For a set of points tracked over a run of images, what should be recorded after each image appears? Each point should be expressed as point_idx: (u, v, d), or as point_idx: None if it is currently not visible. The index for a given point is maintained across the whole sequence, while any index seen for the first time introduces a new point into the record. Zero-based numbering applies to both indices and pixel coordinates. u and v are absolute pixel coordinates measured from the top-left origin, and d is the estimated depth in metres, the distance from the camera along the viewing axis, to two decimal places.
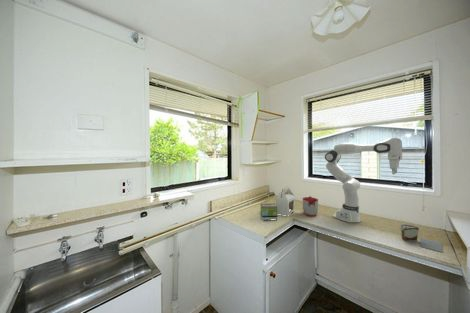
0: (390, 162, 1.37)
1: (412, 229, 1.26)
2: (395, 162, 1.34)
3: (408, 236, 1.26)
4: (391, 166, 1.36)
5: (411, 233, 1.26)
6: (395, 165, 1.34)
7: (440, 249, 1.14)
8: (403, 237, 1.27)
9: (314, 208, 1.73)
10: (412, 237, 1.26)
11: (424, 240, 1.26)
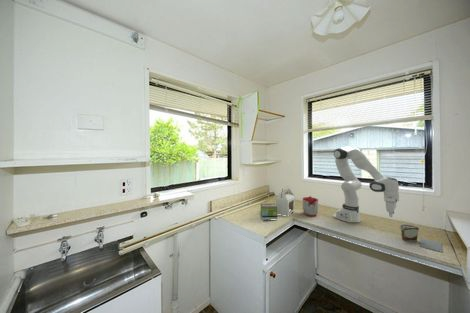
0: (386, 204, 1.30)
1: (412, 229, 1.26)
2: (392, 205, 1.28)
3: (408, 236, 1.26)
4: (388, 209, 1.29)
5: (411, 233, 1.26)
6: (392, 208, 1.28)
7: (440, 249, 1.14)
8: (403, 237, 1.27)
9: (314, 208, 1.73)
10: (412, 237, 1.26)
11: (424, 240, 1.26)
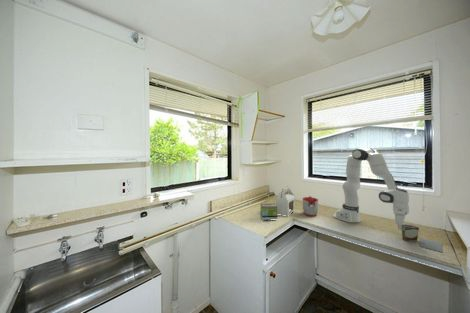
0: (396, 217, 1.26)
1: (413, 229, 1.26)
2: (401, 218, 1.24)
3: (409, 236, 1.26)
4: (397, 222, 1.26)
5: (412, 233, 1.26)
6: (401, 221, 1.24)
7: (440, 249, 1.14)
8: (404, 237, 1.27)
9: (314, 208, 1.73)
10: (413, 237, 1.26)
11: (424, 240, 1.26)
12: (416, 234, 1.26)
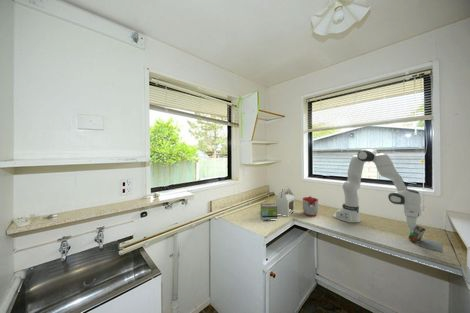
0: (408, 219, 1.21)
1: (422, 231, 1.23)
2: (414, 220, 1.19)
3: (418, 238, 1.23)
4: (409, 224, 1.21)
5: (420, 235, 1.24)
6: (414, 224, 1.19)
7: (440, 249, 1.14)
8: (414, 239, 1.23)
9: (314, 208, 1.73)
10: (419, 238, 1.25)
11: (424, 240, 1.26)
12: (422, 235, 1.25)
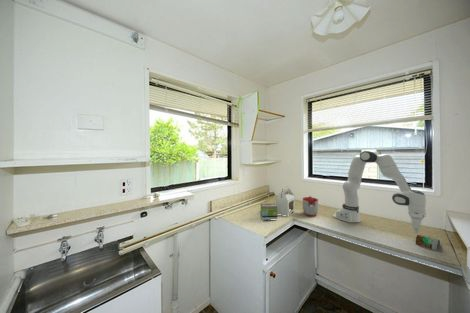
0: (412, 220, 1.20)
1: None
2: (418, 222, 1.18)
3: None
4: (414, 225, 1.19)
5: None
6: (419, 225, 1.18)
7: (440, 249, 1.14)
8: (419, 243, 1.20)
9: (314, 208, 1.73)
10: None
11: None
12: None
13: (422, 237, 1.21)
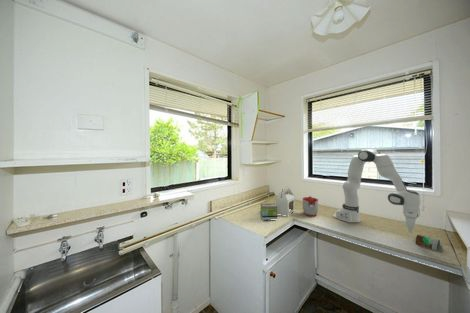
0: (407, 220, 1.22)
1: None
2: (413, 221, 1.20)
3: None
4: (408, 225, 1.22)
5: None
6: (413, 224, 1.20)
7: (440, 249, 1.14)
8: (419, 243, 1.20)
9: (314, 208, 1.73)
10: None
11: None
12: None
13: (422, 237, 1.21)
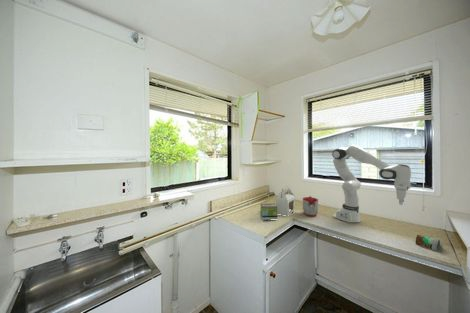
0: (397, 192, 1.25)
1: None
2: (403, 192, 1.23)
3: None
4: (398, 196, 1.25)
5: None
6: (403, 196, 1.23)
7: (440, 249, 1.14)
8: (419, 243, 1.20)
9: (314, 208, 1.73)
10: None
11: None
12: None
13: (422, 237, 1.21)
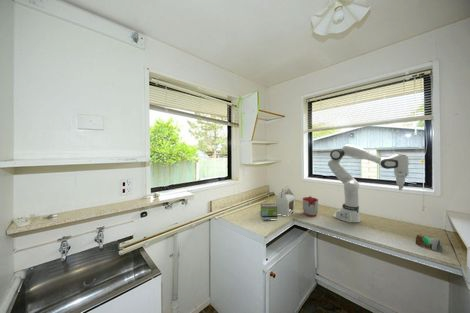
0: (397, 178, 1.40)
1: None
2: (402, 179, 1.38)
3: None
4: (398, 182, 1.39)
5: None
6: (402, 182, 1.37)
7: (440, 249, 1.14)
8: (419, 243, 1.20)
9: (314, 208, 1.73)
10: None
11: None
12: None
13: (422, 237, 1.21)
